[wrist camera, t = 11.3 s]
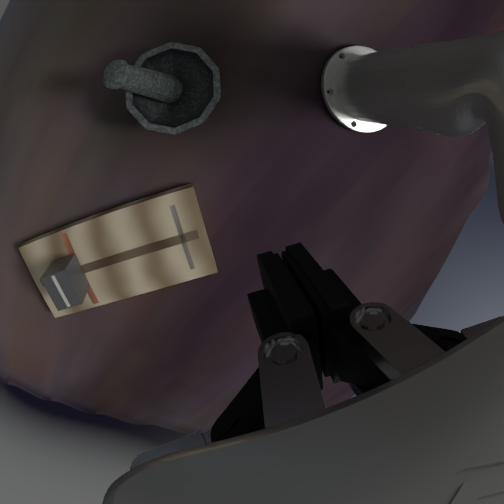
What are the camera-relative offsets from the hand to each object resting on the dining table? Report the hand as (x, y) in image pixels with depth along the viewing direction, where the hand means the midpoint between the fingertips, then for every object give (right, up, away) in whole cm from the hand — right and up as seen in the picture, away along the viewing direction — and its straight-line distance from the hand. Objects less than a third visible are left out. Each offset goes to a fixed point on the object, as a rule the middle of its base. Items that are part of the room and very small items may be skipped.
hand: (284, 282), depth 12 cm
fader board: (-20, +1, +28) cm, 34 cm away
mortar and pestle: (-11, +20, +21) cm, 31 cm away
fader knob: (-26, -2, +25) cm, 36 cm away
